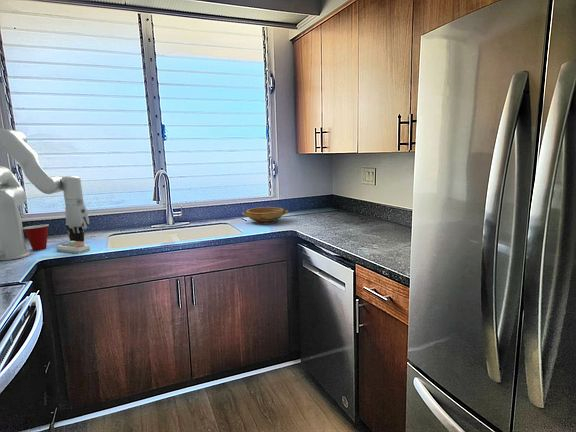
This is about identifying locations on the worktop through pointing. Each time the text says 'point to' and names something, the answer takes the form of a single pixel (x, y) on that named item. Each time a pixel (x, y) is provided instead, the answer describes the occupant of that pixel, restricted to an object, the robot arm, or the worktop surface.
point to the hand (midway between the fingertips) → (79, 240)
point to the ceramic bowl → (265, 214)
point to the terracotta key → (79, 244)
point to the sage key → (71, 243)
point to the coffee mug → (72, 234)
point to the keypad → (73, 248)
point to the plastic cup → (37, 236)
